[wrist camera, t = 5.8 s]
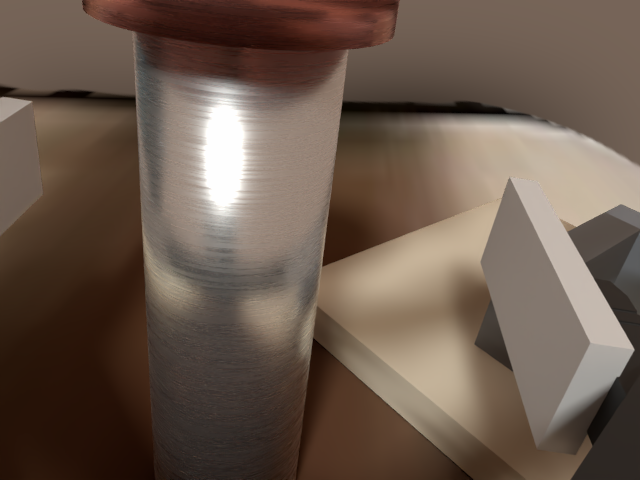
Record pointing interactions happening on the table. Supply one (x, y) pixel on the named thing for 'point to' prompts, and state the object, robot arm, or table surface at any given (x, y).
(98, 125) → the table surface
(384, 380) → the socket
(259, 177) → the pin
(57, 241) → the table surface
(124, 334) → the table surface
